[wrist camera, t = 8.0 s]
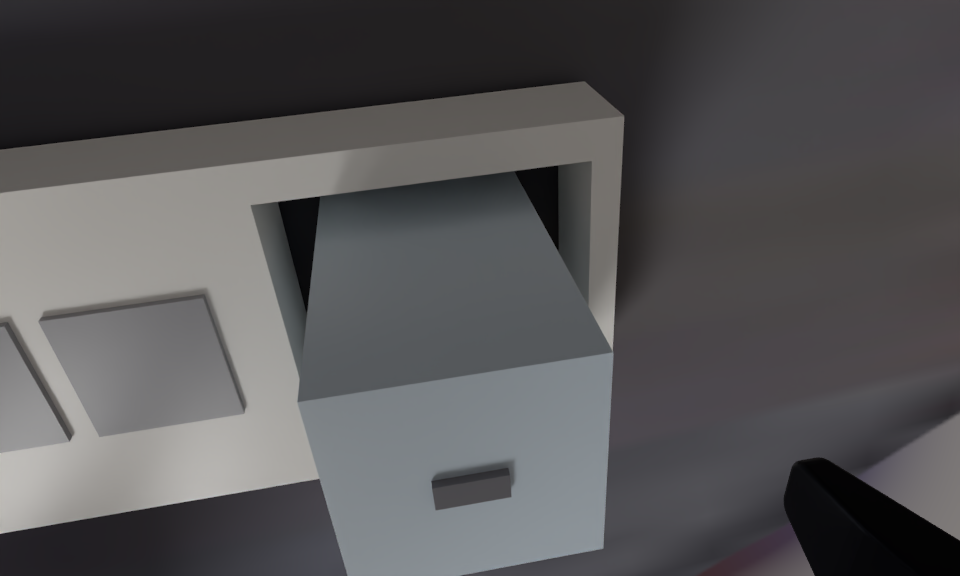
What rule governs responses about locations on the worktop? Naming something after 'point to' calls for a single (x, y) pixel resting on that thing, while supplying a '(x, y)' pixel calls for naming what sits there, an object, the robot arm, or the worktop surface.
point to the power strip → (228, 284)
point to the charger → (452, 382)
